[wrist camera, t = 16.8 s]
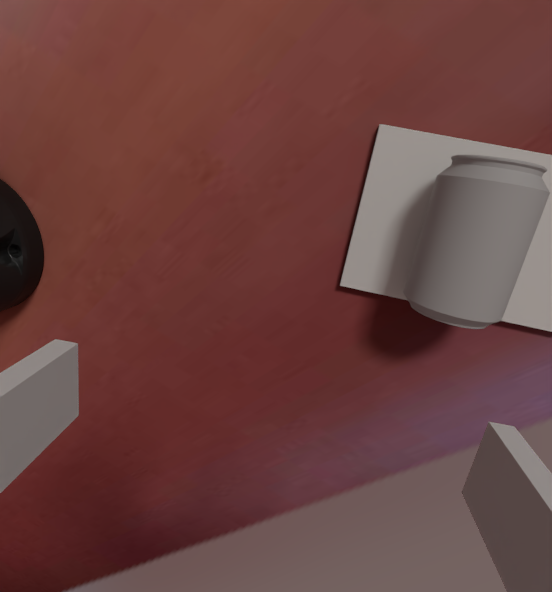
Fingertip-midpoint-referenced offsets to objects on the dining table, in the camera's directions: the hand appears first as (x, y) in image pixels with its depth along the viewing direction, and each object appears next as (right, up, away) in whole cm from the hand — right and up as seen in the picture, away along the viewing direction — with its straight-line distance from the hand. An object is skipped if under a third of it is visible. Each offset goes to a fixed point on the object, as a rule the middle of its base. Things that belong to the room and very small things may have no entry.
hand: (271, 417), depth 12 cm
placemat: (+17, +9, +21) cm, 29 cm away
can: (+14, +2, +19) cm, 24 cm away
